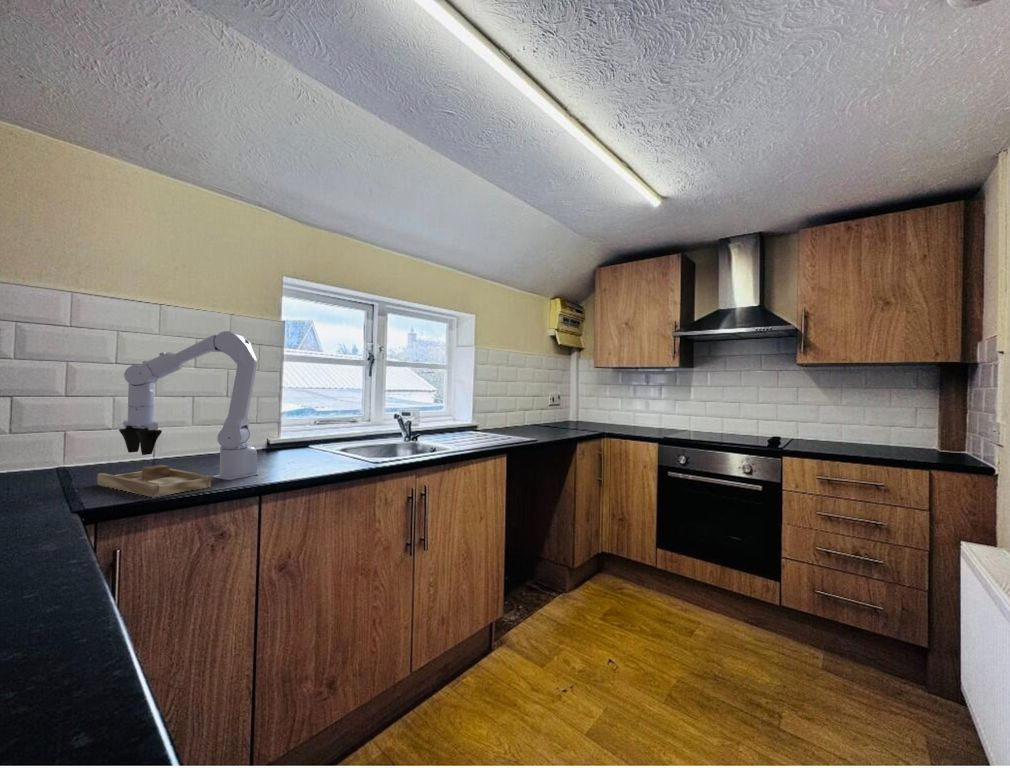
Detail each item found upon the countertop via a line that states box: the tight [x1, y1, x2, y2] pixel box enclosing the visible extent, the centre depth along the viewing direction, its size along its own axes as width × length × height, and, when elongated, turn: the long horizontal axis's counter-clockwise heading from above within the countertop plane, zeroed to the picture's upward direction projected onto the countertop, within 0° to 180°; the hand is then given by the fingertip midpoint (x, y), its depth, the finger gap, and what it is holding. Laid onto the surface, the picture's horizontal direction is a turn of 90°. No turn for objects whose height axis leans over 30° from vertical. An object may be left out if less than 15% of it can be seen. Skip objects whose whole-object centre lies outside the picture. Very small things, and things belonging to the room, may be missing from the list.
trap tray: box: [96, 467, 212, 497], centre depth 117 cm, size 13×28×3 cm, turn 64°
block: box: [141, 464, 171, 480], centre depth 120 cm, size 4×4×3 cm
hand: (139, 453), depth 124 cm, fingers open, 7 cm apart
